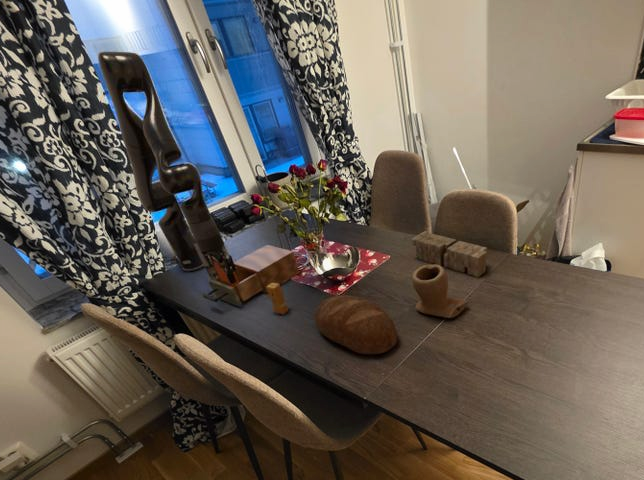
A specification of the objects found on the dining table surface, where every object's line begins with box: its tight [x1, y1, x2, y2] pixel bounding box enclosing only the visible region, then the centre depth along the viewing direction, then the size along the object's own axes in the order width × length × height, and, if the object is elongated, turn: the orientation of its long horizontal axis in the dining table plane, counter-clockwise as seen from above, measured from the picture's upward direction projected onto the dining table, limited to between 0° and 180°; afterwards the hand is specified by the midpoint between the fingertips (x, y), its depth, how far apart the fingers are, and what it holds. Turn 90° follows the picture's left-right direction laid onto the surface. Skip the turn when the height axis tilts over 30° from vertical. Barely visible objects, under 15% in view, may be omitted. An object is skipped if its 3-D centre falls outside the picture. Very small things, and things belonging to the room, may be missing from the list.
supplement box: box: [266, 283, 289, 315], centre depth 126 cm, size 3×3×10 cm
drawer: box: [202, 267, 264, 307], centre depth 136 cm, size 20×14×7 cm, turn 146°
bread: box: [314, 294, 398, 355], centre depth 112 cm, size 16×29×11 cm, turn 50°
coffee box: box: [194, 242, 230, 281], centre depth 146 cm, size 9×6×16 cm
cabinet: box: [233, 244, 301, 294], centre depth 144 cm, size 16×15×9 cm
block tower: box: [411, 230, 488, 278], centre depth 141 cm, size 8×8×29 cm
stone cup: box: [411, 264, 469, 319], centre depth 115 cm, size 15×12×15 cm
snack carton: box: [213, 261, 240, 296], centre depth 133 cm, size 5×3×13 cm, turn 56°
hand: (228, 280), depth 133 cm, fingers closed on snack carton, 5 cm apart
